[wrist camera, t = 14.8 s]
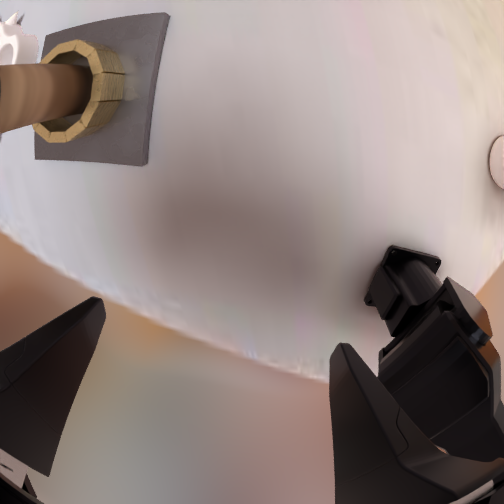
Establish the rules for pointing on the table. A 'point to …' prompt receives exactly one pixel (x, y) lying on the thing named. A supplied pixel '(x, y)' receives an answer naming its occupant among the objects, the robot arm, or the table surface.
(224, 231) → the table surface
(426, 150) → the table surface
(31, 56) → the white brass knuckles
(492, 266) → the table surface
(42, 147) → the collar plate
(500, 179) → the drinking glass
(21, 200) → the table surface
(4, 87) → the brown domed post
